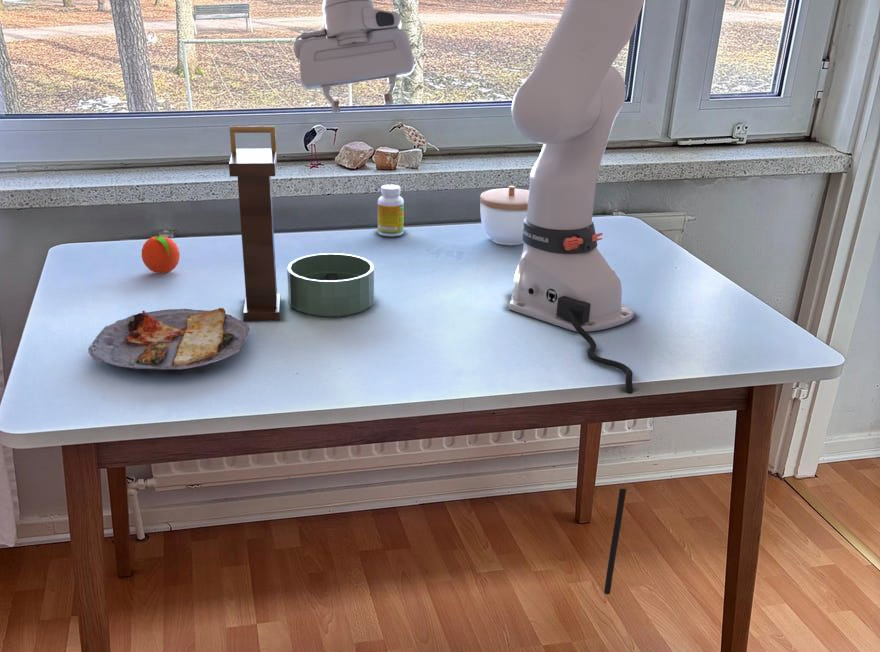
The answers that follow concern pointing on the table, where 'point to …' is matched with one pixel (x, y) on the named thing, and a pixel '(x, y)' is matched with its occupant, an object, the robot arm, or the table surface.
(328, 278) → the glue stick
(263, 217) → the stand
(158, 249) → the clementine
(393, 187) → the supplement bottle
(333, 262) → the bowl
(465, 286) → the table surface
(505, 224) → the lidded bowl
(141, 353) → the food plate
